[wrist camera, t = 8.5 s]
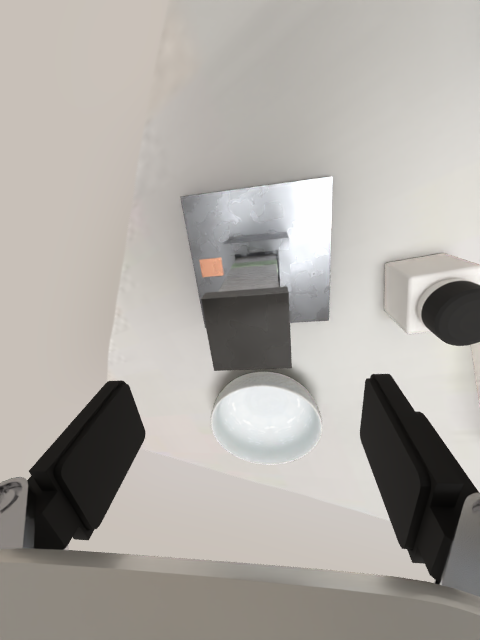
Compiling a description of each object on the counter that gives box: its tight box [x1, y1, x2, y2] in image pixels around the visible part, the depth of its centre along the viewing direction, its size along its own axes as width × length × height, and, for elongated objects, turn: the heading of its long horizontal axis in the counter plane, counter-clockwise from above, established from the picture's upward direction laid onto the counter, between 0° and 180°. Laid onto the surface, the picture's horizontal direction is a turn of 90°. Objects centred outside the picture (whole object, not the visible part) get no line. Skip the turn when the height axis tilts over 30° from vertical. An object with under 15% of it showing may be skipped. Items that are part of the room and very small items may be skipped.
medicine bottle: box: [384, 253, 480, 346], centre depth 30 cm, size 7×7×12 cm
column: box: [201, 254, 292, 371], centre depth 23 cm, size 5×5×14 cm
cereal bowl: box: [211, 372, 323, 465], centre depth 43 cm, size 17×17×7 cm
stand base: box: [181, 176, 333, 328], centre depth 33 cm, size 18×18×7 cm
